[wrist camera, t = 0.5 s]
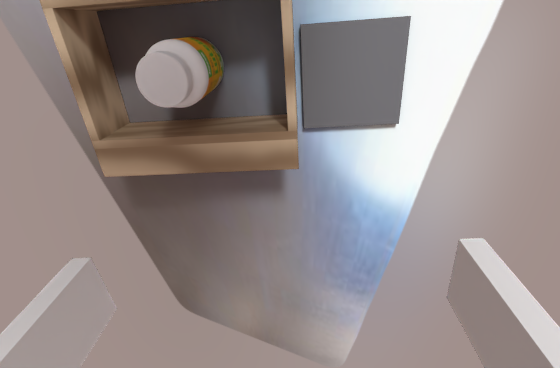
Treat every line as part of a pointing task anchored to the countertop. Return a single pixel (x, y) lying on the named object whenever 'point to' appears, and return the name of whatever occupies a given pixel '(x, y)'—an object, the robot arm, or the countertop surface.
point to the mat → (353, 71)
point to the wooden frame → (165, 134)
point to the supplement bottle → (179, 71)
